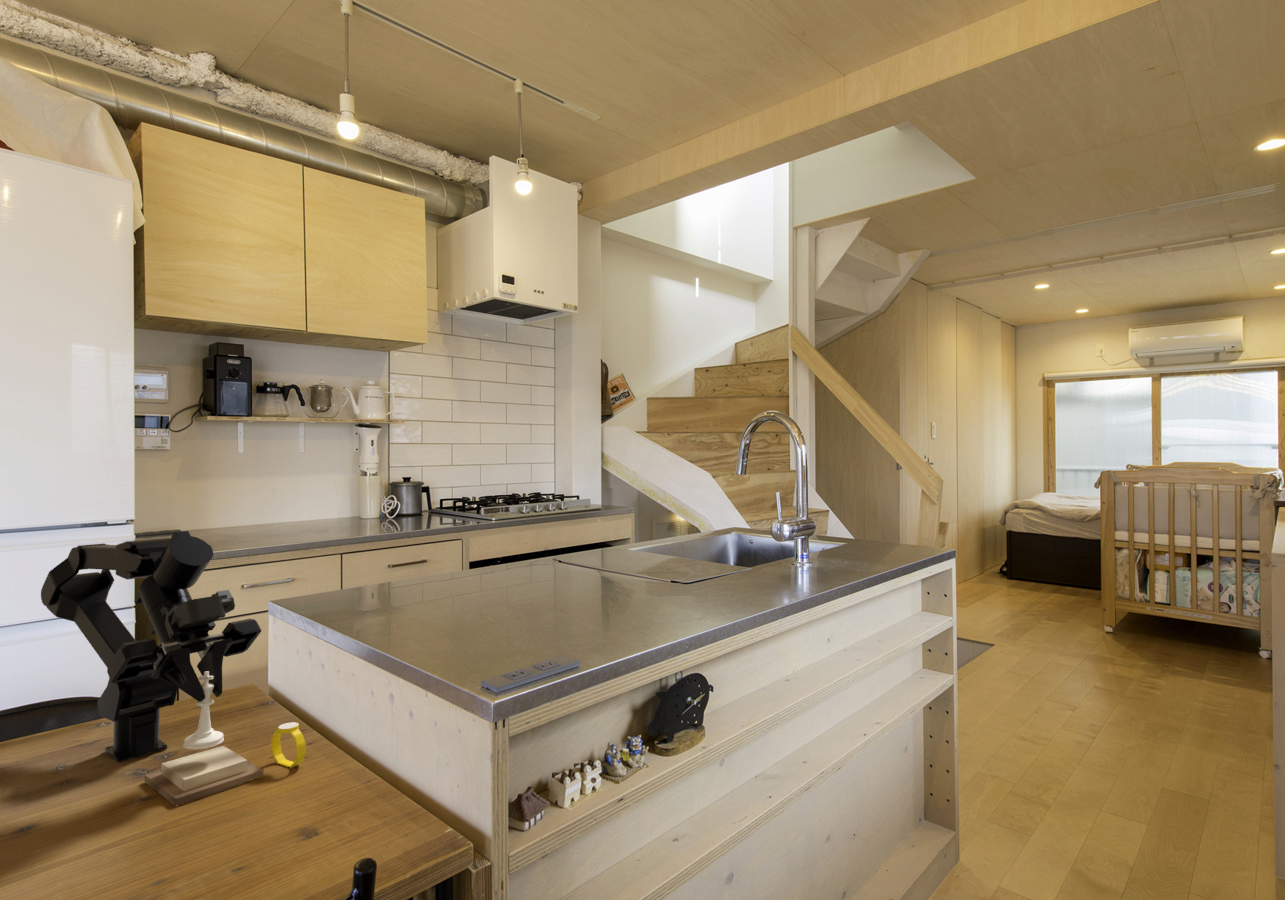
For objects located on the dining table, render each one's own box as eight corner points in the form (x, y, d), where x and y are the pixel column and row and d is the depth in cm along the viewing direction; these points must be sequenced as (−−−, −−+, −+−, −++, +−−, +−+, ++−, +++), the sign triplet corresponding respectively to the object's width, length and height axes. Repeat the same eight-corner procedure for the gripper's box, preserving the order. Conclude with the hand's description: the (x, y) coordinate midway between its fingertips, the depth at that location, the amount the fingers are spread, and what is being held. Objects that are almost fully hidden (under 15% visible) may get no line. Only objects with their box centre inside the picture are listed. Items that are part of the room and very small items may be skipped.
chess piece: (213, 749, 98) (216, 677, 98) (175, 749, 97) (178, 677, 97) (230, 735, 102) (233, 666, 103) (194, 735, 102) (197, 666, 102)
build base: (144, 782, 99) (145, 764, 99) (228, 756, 107) (229, 739, 107) (175, 806, 92) (176, 787, 92) (262, 777, 101) (263, 759, 101)
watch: (266, 766, 105) (265, 726, 105) (283, 759, 107) (282, 720, 108) (294, 772, 102) (293, 730, 103) (310, 764, 105) (309, 724, 105)
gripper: (120, 584, 94) (162, 682, 88) (256, 566, 110) (298, 648, 105) (89, 634, 98) (128, 731, 92) (225, 610, 114) (264, 691, 108)
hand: (211, 697), depth 99 cm, fingers closed on chess piece
